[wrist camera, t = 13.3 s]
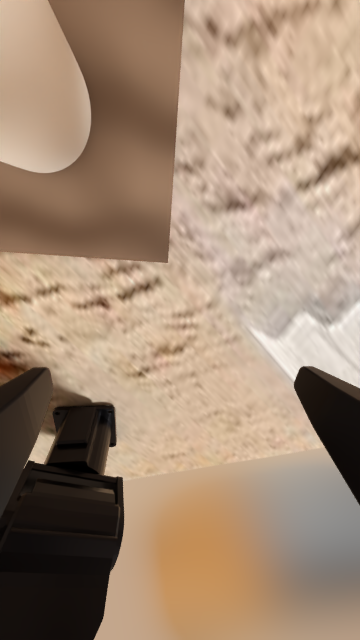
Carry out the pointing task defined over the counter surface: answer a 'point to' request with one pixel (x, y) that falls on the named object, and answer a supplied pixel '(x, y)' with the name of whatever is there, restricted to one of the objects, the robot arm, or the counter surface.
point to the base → (108, 140)
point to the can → (39, 90)
